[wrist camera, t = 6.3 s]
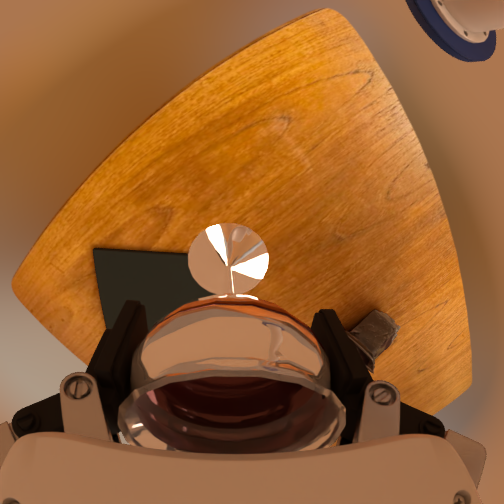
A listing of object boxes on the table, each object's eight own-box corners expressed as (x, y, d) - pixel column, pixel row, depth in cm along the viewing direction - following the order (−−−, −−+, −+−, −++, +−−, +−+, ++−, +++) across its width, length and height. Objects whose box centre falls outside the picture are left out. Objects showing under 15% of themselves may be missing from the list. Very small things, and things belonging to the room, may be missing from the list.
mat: (94, 247, 32) (92, 249, 31) (223, 255, 33) (223, 257, 33) (117, 365, 40) (116, 367, 39) (217, 374, 41) (217, 377, 41)
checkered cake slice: (399, 343, 43) (424, 339, 32) (370, 373, 42) (389, 379, 31) (362, 305, 46) (378, 290, 35) (333, 334, 46) (341, 329, 35)
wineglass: (181, 198, 16) (99, 340, 5) (295, 220, 17) (391, 371, 6) (168, 297, 19) (127, 465, 8) (267, 313, 20) (301, 478, 9)
